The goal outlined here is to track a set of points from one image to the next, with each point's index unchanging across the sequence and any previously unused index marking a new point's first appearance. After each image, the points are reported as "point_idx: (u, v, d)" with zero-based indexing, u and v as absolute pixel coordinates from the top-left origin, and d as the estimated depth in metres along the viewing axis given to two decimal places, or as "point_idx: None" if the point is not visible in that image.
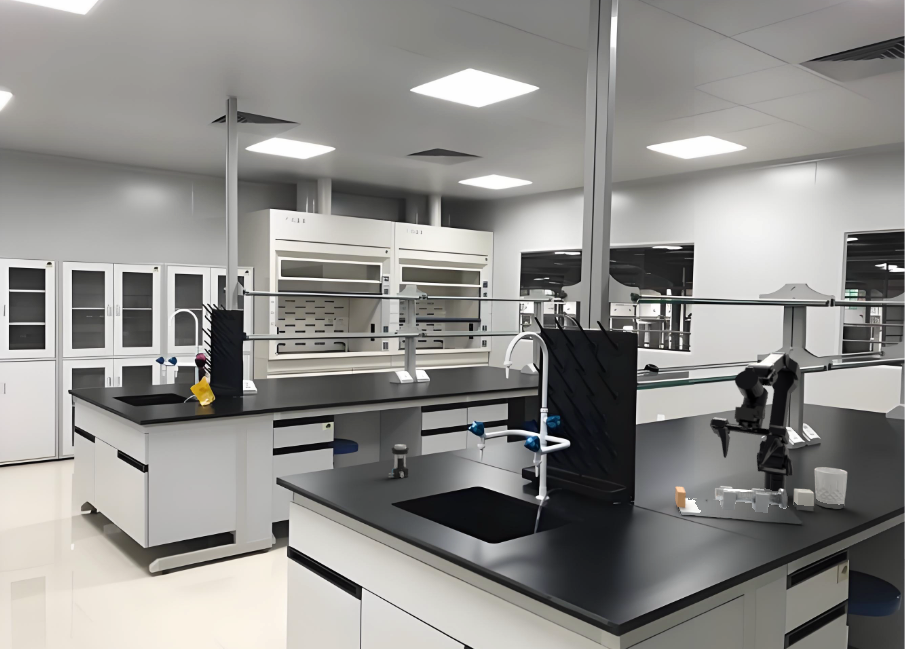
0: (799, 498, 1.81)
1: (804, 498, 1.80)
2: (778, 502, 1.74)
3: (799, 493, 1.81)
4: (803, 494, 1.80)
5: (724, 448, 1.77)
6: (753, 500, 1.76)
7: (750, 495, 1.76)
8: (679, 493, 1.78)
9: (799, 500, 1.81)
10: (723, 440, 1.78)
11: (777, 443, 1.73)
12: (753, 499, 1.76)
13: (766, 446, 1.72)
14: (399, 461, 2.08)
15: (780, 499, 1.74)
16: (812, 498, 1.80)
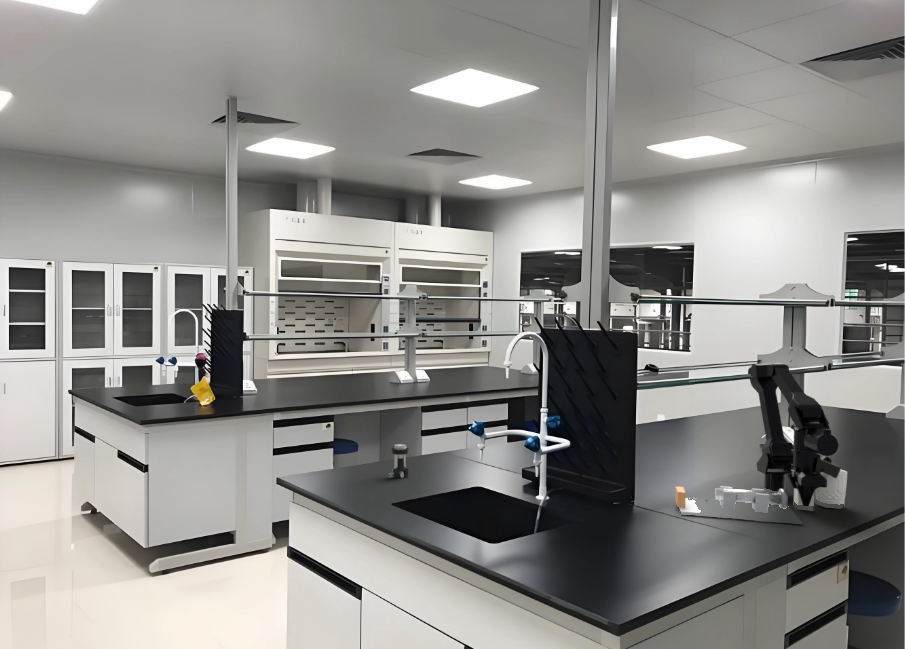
0: (799, 498, 1.81)
1: None
2: (778, 502, 1.74)
3: None
4: None
5: None
6: (753, 500, 1.76)
7: (750, 495, 1.76)
8: (679, 493, 1.78)
9: (799, 500, 1.81)
10: None
11: None
12: (753, 499, 1.76)
13: None
14: (399, 461, 2.08)
15: (780, 499, 1.74)
16: (812, 498, 1.80)
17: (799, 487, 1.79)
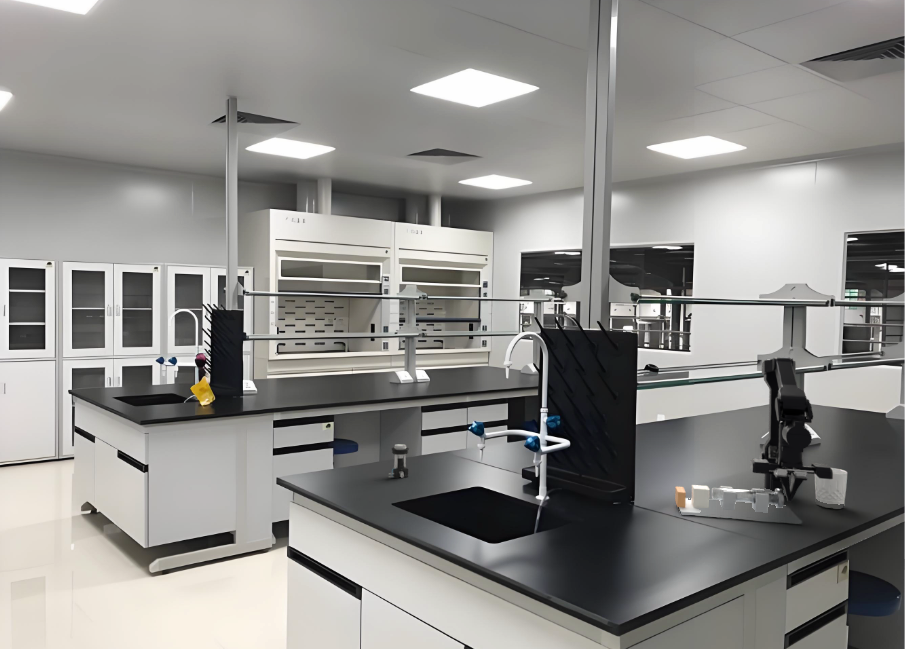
0: (695, 495, 1.78)
1: (699, 494, 1.78)
2: (774, 502, 1.75)
3: (695, 489, 1.78)
4: (699, 490, 1.78)
5: None
6: (750, 500, 1.76)
7: (746, 494, 1.76)
8: (679, 493, 1.78)
9: (695, 496, 1.78)
10: None
11: None
12: (750, 499, 1.76)
13: None
14: (399, 461, 2.08)
15: (776, 499, 1.74)
16: (707, 494, 1.78)
17: None
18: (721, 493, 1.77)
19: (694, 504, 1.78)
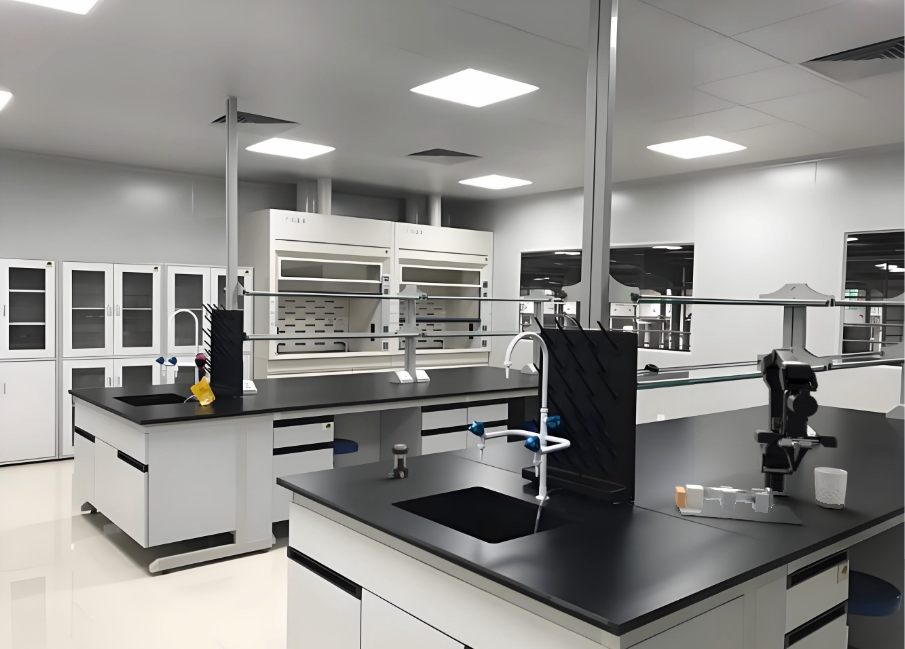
0: (689, 494, 1.79)
1: (693, 494, 1.78)
2: None
3: (689, 489, 1.79)
4: (692, 490, 1.78)
5: None
6: (739, 499, 1.76)
7: (736, 494, 1.77)
8: (679, 493, 1.78)
9: (689, 496, 1.79)
10: None
11: None
12: (739, 498, 1.76)
13: None
14: (399, 461, 2.08)
15: None
16: (701, 494, 1.78)
17: None
18: (710, 492, 1.78)
19: (688, 503, 1.79)
